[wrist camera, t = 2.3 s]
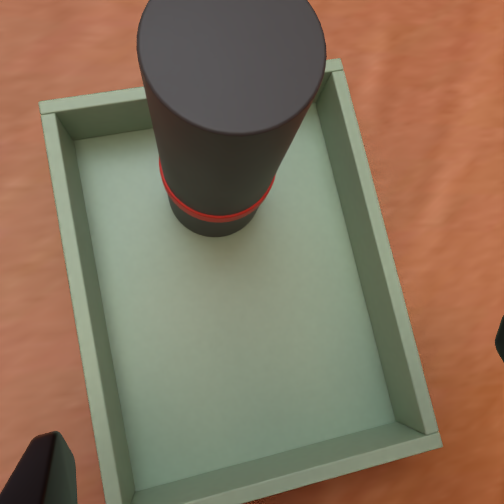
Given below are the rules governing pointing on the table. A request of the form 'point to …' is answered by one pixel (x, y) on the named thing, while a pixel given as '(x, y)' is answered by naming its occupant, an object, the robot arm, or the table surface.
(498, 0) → the table surface
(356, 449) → the box
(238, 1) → the red-banded dark cylinder
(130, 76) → the table surface
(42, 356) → the table surface
